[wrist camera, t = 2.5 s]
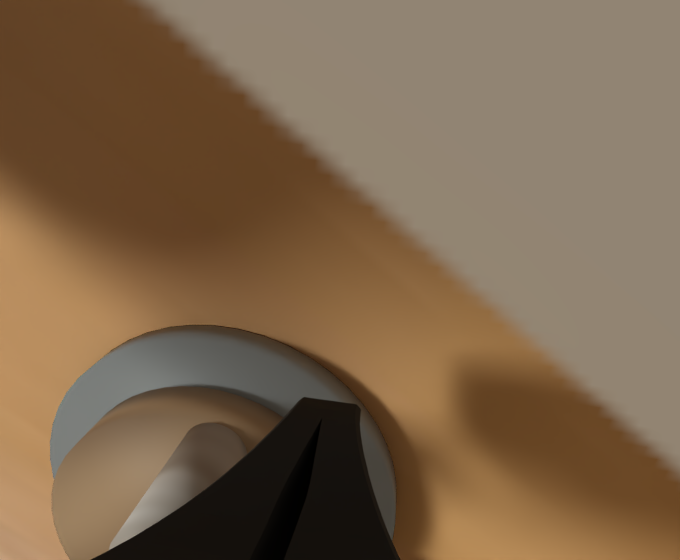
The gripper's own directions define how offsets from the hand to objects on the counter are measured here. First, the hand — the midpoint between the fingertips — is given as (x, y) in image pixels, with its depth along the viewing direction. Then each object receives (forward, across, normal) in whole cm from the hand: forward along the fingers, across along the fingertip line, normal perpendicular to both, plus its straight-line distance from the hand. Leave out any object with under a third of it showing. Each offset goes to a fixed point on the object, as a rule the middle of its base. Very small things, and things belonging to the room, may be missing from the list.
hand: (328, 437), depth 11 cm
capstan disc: (+3, +4, +6) cm, 8 cm away
